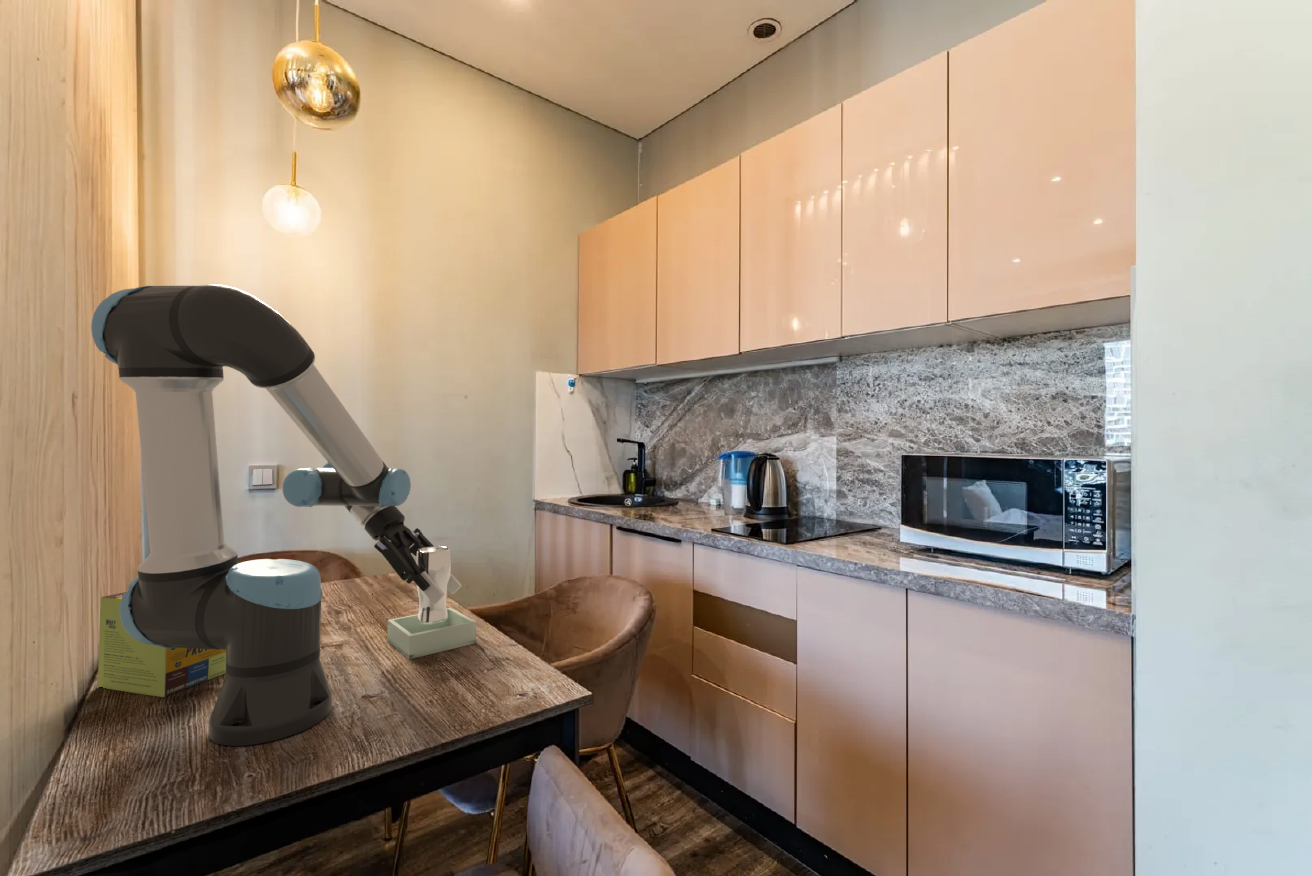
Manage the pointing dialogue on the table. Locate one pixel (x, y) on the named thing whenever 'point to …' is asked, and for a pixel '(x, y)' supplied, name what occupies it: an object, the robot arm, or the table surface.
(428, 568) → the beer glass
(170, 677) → the protein box
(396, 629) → the bin
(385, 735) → the table surface
